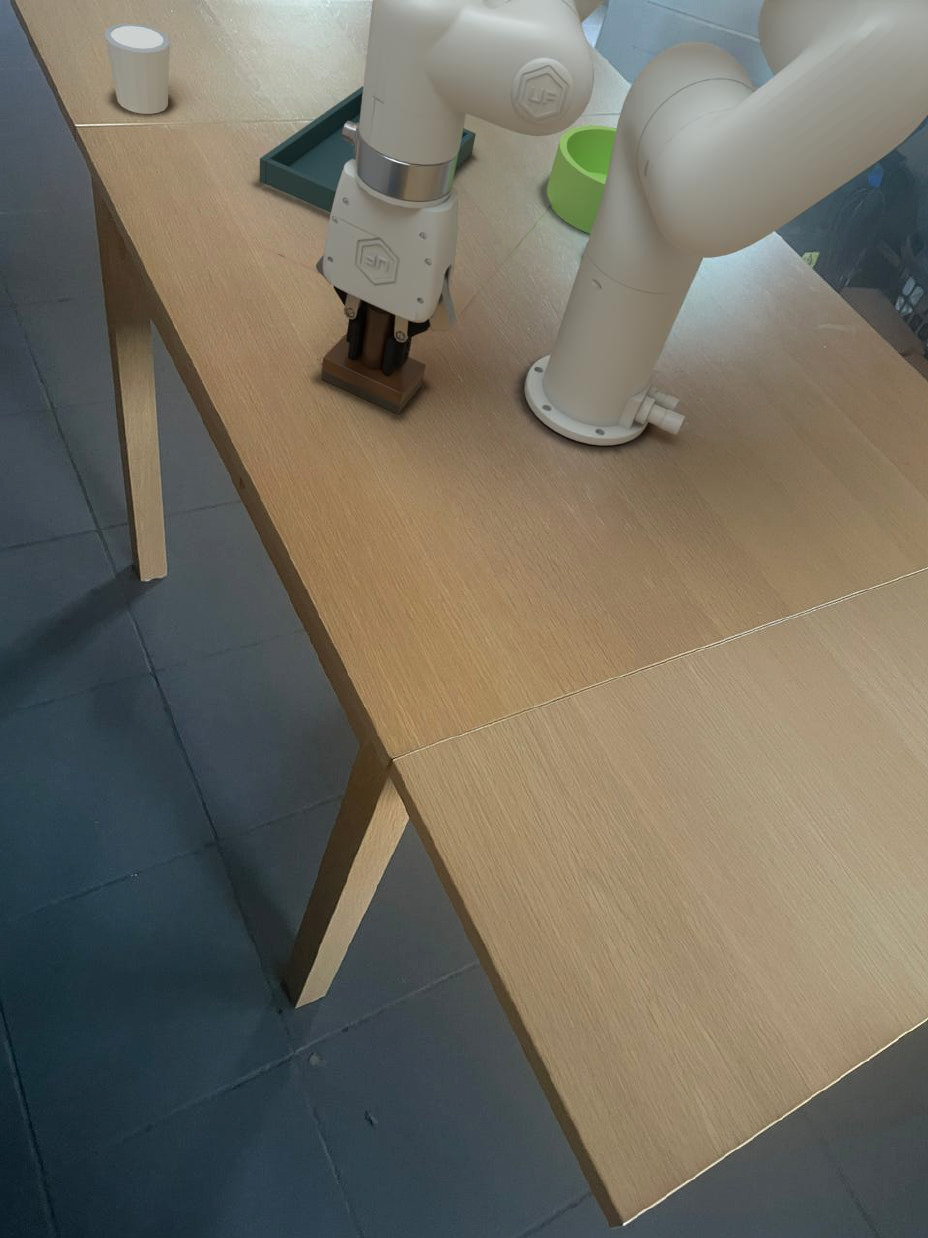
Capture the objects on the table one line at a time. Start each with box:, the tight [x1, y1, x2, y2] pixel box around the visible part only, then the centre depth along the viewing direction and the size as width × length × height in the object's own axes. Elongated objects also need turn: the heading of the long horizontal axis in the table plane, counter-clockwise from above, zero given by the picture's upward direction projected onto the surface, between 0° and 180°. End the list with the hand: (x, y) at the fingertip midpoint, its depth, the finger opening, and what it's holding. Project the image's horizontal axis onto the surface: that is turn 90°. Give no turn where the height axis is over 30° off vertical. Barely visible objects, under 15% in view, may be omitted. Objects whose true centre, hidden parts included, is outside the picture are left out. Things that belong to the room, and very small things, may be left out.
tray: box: [259, 85, 477, 213], centre depth 107 cm, size 16×24×3 cm, turn 156°
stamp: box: [321, 303, 426, 415], centre depth 82 cm, size 8×5×8 cm, turn 66°
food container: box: [546, 124, 617, 235], centre depth 105 cm, size 25×14×13 cm, turn 7°
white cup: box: [104, 22, 171, 115], centre depth 104 cm, size 7×7×7 cm
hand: (376, 357), depth 84 cm, fingers closed on stamp, 2 cm apart
